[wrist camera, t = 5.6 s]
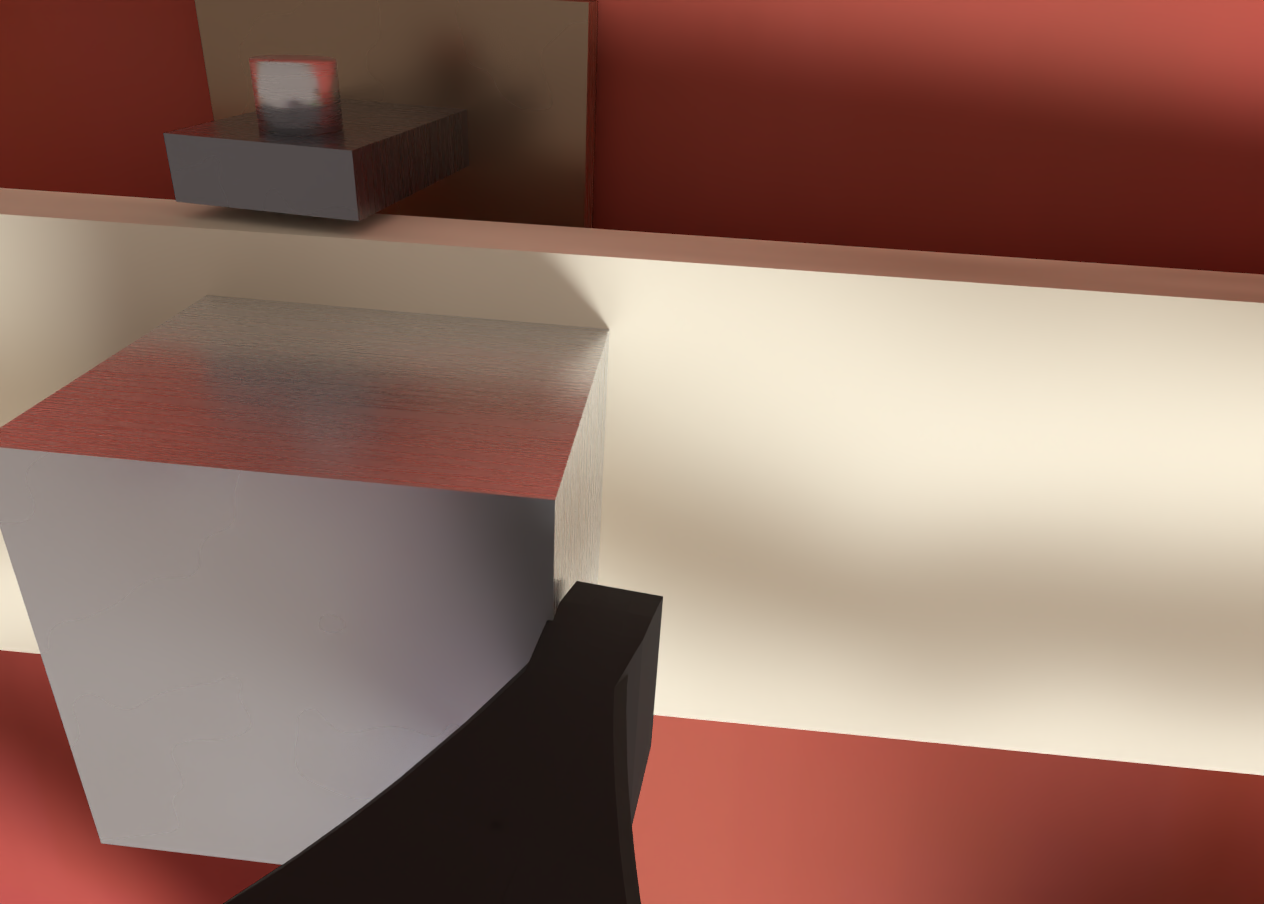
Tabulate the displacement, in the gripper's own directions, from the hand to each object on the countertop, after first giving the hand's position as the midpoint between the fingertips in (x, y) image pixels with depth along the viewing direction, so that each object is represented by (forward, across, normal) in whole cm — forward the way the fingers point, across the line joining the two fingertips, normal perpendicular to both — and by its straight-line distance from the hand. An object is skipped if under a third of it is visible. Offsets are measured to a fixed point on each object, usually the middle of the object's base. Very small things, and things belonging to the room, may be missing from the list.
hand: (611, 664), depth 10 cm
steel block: (+3, +3, 0) cm, 4 cm away
